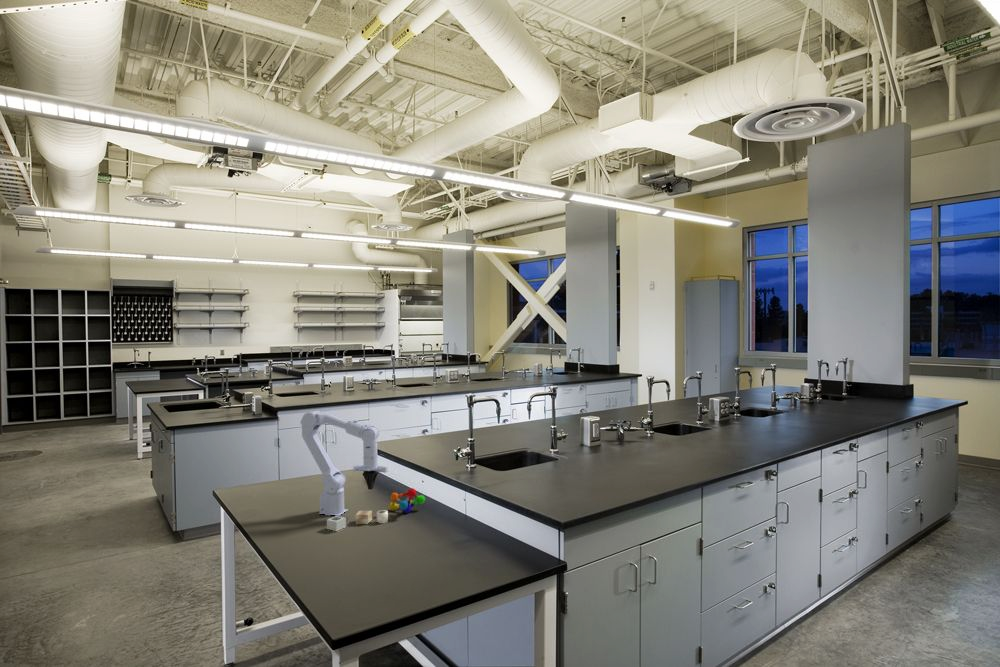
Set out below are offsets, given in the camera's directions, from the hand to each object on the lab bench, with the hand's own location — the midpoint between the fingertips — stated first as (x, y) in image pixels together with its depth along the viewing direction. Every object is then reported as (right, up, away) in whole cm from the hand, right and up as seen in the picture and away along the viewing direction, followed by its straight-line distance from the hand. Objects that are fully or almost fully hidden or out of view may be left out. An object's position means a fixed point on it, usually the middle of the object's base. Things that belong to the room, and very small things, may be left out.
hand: (370, 488), depth 230 cm
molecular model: (+14, -11, +3) cm, 18 cm away
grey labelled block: (-9, -11, -17) cm, 22 cm away
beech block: (0, -11, -10) cm, 15 cm away
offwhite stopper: (+7, -11, -10) cm, 16 cm away
